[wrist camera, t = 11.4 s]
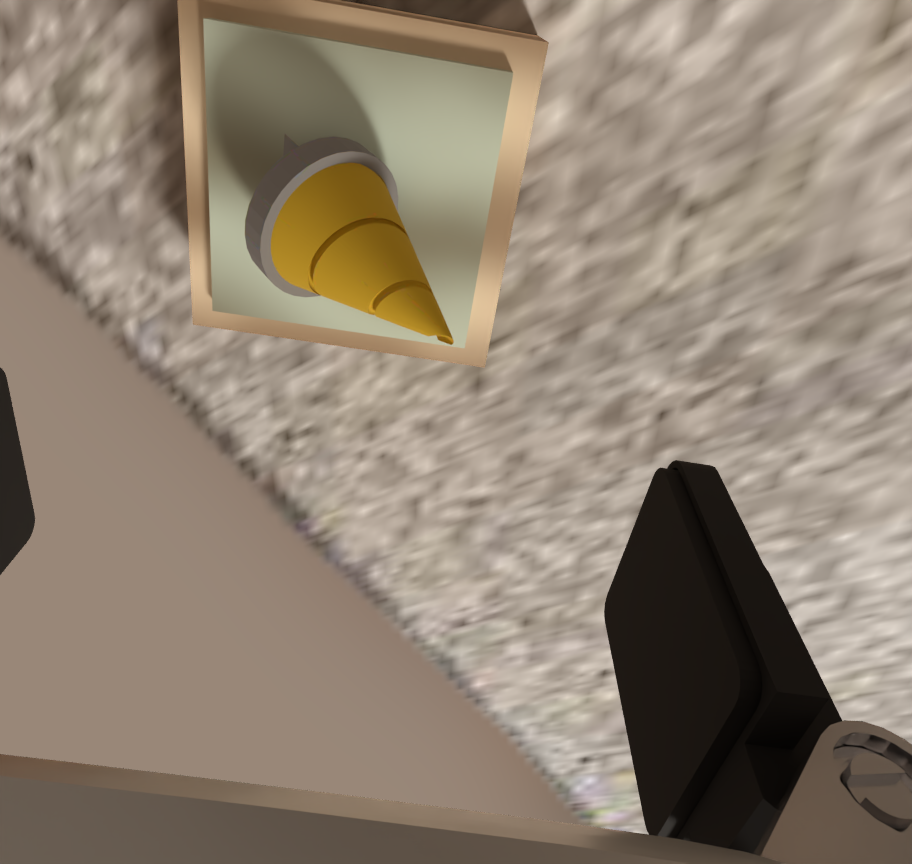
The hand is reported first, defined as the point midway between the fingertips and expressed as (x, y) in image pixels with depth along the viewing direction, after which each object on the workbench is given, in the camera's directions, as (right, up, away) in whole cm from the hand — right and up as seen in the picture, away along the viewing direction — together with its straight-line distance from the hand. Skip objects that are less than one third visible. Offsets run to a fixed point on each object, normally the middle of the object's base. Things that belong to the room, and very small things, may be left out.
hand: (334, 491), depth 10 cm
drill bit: (-1, +9, +15) cm, 18 cm away
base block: (-2, +12, +19) cm, 23 cm away
